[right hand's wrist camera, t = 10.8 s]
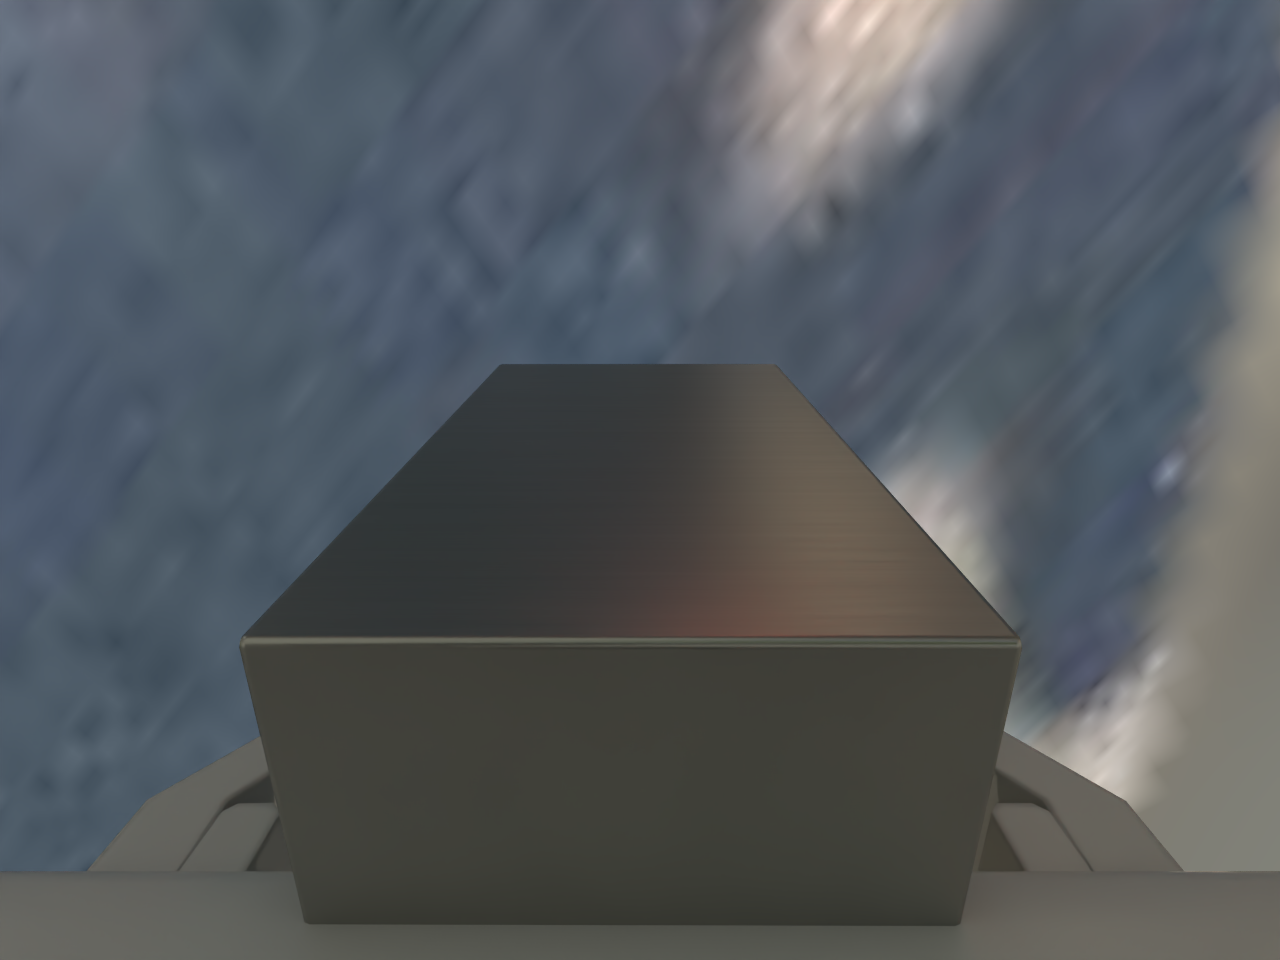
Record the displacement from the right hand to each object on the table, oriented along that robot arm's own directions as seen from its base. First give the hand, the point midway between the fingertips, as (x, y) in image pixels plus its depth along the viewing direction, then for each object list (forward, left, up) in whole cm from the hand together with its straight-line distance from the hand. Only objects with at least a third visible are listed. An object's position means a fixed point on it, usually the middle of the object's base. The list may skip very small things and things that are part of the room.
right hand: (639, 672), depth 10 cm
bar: (+9, 0, -3) cm, 9 cm away
